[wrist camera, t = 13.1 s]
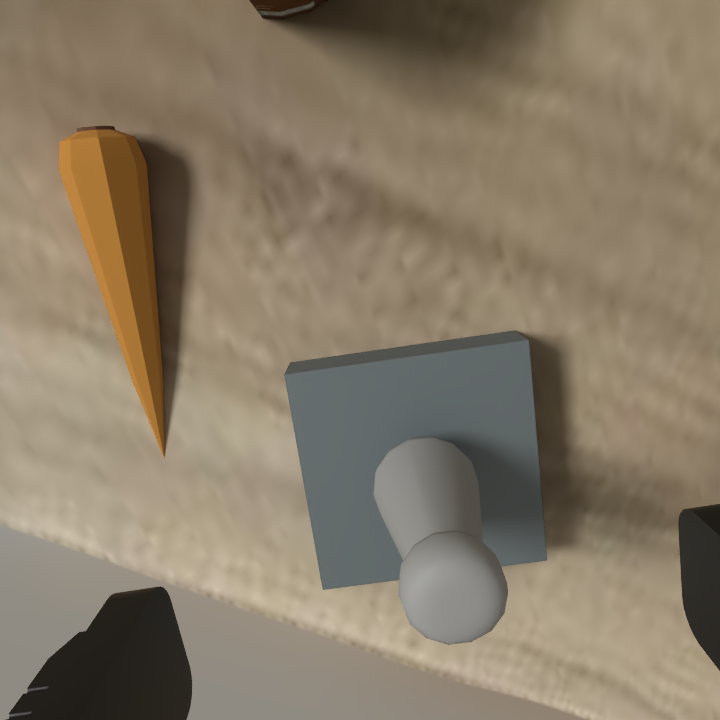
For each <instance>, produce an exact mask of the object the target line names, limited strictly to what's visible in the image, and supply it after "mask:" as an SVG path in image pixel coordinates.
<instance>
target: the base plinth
mask: <svg viewBox="0 0 720 720" xmlns="http://www.w3.org/2000/svg"><path fill="white" fill-rule="evenodd" d="M284 376H285V381H286V387H287V392H288V398H289V404H290V409H291V415H292V420H293V426H294V431H295V437H296V443H297V448H298V454H299V459H300V465H301V470H302V476H303V482H304V487H305V493H306V498H307V504H308V509H309V515H310V520H311V526H312V532H313V537H314V543H315V548H316V554H317V559H318V565H319V571H320V576H321V582H322V587H323V590H325V589H333V588H341V587H348V586H356V585H363V584H371V583H379V582H386V581H394V580H399V577H400V568H401V564H402V562H403V559H402V557H401V555H400V553H399V551H398V549H397V547H396V545H395V543H394V541H393V539H392V537H391V535H390V533H389V530H388V528H387V526H386V524H385V522H384V520H383V518H382V516H381V514H380V511H379V508H378V506H377V503H376V500H375V498H374V495H373V494H374V483H375V473H376V470H377V468H378V466H379V465H380V464H381V462H382V461H383V459H384V458H385V456H386V455H387V453H388V452H389V451H390V450H391V449H393V448H395V447H396V446H398V445H399V444H401V443H403V442H404V441H406V440H407V439H413V438H422V437H430V436H431V437H435V438H438V439H441V440H444V441H447V442H451V443H453V444H454V445H455V446H456V447H457V448H458V449H459V450H460V451H461V452H462V453H464V454H465V455H466V456H467V457H468V458H469V459H470V460H471V462H472V465H473V468H474V470H475V473H476V476H477V479H478V482H479V495H480V509H481V523H482V537H483V543H484V544H485V545H486V546H487V547H488V548H490V549H491V550H492V551H493V552H494V553H495V555H496V557H497V559H498V560H499V563H500V565H501V566H508V565H515V564H523V563H531V562H538V561H546V560H547V554H546V542H545V530H544V518H543V506H542V494H541V481H540V469H539V457H538V445H537V433H536V421H535V409H534V397H533V384H532V372H531V360H530V348H529V340H528V339H527V338H525V337H524V336H522V335H521V334H519V333H518V332H516V331H509V332H502V333H495V334H488V335H481V336H474V337H467V338H460V339H453V340H446V341H439V342H432V343H425V344H417V345H410V346H403V347H396V348H389V349H382V350H375V351H368V352H361V353H354V354H347V355H340V356H333V357H326V358H319V359H312V360H305V361H298V362H291V363H290V364H289V366H288V368H287V370H286V372H285V374H284Z"/></svg>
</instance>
